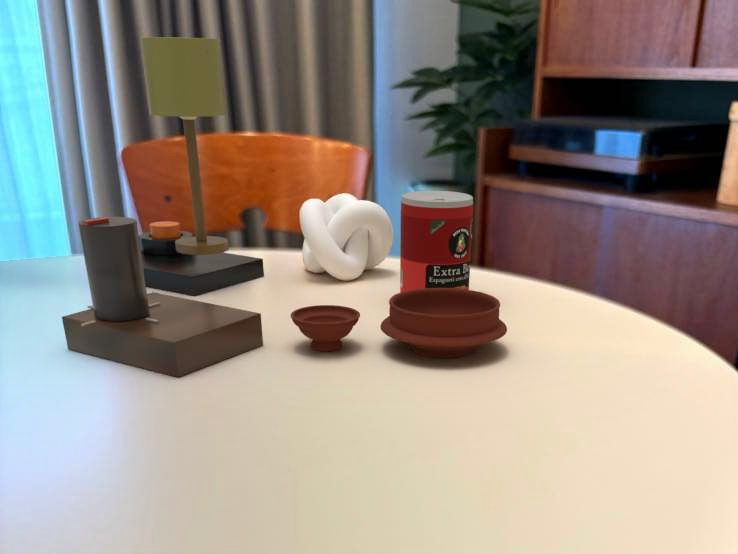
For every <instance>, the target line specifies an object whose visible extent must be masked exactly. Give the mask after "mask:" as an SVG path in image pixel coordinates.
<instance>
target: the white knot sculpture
mask: <svg viewBox="0 0 738 554" xmlns="http://www.w3.org/2000/svg"><path fill="white" fill-rule="evenodd" d="M299 224H300V225H299V226H300V229H301V232H302V235H303V238H304V240H303V244H302V248H301V249H302V250H301V256H302V263H303V265H304V267H305V268H306V269H307V270H308V272H311V273H314V274H321V273H324V272H327V273H328V274H329V275H330V276H331V277H333V278H335V279H338V280H340V281H343V282H349V281H353V280H355V279H357V278H358V277H360V276H361V275H362V274H363V272H364V271H368V270H372V269H374V268H376V267H378V266H379V265H381V264H382V263H383V262H384V261H385V260H386V259H387V257H388V256H389V253H390V251H391V249H392V246H393V240H394V228H393V224H392V221H391V218H390V217H389V215H388V213H387V212H386V211H385V209H384V208H383V207H382V206H381V205H379V204H377V203H376V202H373V201H371V200H366V199H365V200H364V199H360V200H359V199H358V198H357V197H355V196H354V195H352V194H350V193H348V192H347V193H345V192H344V193H338V194H336V195H333V196H331V197H330V198H328V199H327V200H326V201H325V202H324V201H323V200H321V199H320V198H309V199H307V200H305V201H304V202H303V203H302V205H301V206H300V208H299Z"/></svg>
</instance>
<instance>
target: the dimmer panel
mask: <svg viewBox="0 0 738 554" xmlns="http://www.w3.org/2000/svg"><path fill="white" fill-rule="evenodd" d="M147 298H148V305H149V312H150V313H149V314H148V315H147V316H145V317H143V318H139V319H135V320H129V321H104V320H100V319H97V318H96V317H95V315H94V310H93V305H90V304H89V305H87V307H86V309H85V310H81V311H78V312H74V313H70V314H67V315H63V316H61V321H62V325H63V330H64V336H65V342H66V346H67V349H68V350H71V351H75V352H78V353H82V354H85V355H90V356H93V357H97V358H102V359H105V360H108V361H109V360H110V361H113V362H116V363H120V364H125V365H127V366H128V365H129V366H133V367H137V368H141V369H145V370H148V371H152V372H155V373H160V374H165V375H167V376H171V377H176V378H180V377H183V376H186V375H188V374H191V373H193V372H197V371H198V370H201V369H203V368H206V367H210V366H212V365H215V364H217V363H219V362H222V361H224V360H228V359H231V358H233V357H236V356H239V355H241V354H244V353H246V352H249V351H251V350H253V349H257V348H259V347H262V346H264V337H263V323H262V313H261V312H256V311H250V310H246V309H241V308H236V307H229V306H225V305H220V304H215V303H210V302H205V301H200V300H195V299H188V298H186V297H185V298H184V297H181V296H180V297H179V296H174V295H170V294H164V293H160V292H154V291H153V292H149V293H148V292H147Z"/></svg>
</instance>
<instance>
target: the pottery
mask: <svg viewBox="0 0 738 554" xmlns="http://www.w3.org/2000/svg"><path fill="white" fill-rule="evenodd" d="M388 304H389V312H388V313H389V316H387V317H386V318H384V319H383V320H382V321H381V323H380V330H381V331H382V333H383V334H385V336H388V337H390V338H391V339H394V340H396V341H400V342H404V343H407V344H409V345H410V348H411V349H412V350H413V352H415V353H416V354H419V355H421V356H424V357H430V358H438V359H439V358H441V359H451V358H460V357H464V356H468V355H470V354H472V353H473V352H474V351H475V349H476V347H477V346H479V345H484V344H489V343H492V342H494V341H498V340H499V339H501V338H503V337H504V336H505V335H506V334H507V333H508V327H507V325H506V323H505V322H504V321H503V320H502V319H500V308H501V302H500V300H499V299H498V298H496V297H495V296H493V295H490V294H488V293H485V292H481V291H477V290H472V289H469V290H466V289H456V288H424V289H415V290H409V291H405V292H401V293H400V292H398V293H396V294H394V295H392V296H391V297H390V298H389V301H388ZM360 317H361V313H360V312H359V310H356V309H355V308H353V307H348V306H345V305H335V304H332V305H331V304H318V305H310V306H309V305H308V306H303V307H300V308H297V309H295V310H292V312H291V313H290V318H291V320H292V322H293V324H294V325H295V326H296V327H297V328H298V329H299V331H300V332H301V334H302V335H303V336H305V338H308V339H310V340H311V342H310V348H311V349H312V350H314V351H317V352H336V351H338V350H341V349H342V348H343V341H342V339H344V338H346V337H347V336H348V335H350V333H351V332H352V330H353V328H354V326H355V325H357V323H358V321H359V320H360Z"/></svg>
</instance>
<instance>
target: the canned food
mask: <svg viewBox="0 0 738 554" xmlns="http://www.w3.org/2000/svg"><path fill="white" fill-rule="evenodd" d="M473 221H474V197H473V196H472V194H471V195H470V194H468V193H464V192H459V191H458V192H457V191H449V190H416V191H409V192H405V193H403V194H401V199H400V247H399V249H400V251H399V252H400V253H399V255H400V257H399V258H400V259H399V264H400V265H399V269H400V271H399V272H400V273H399V274H400V276H399V278H400V281H399V293H401V292H405V291H409V290H415V289H424V288H456V289H466V290H470V277H471V255H472V241H473V240H472V239H473V224H474V223H473Z"/></svg>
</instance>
